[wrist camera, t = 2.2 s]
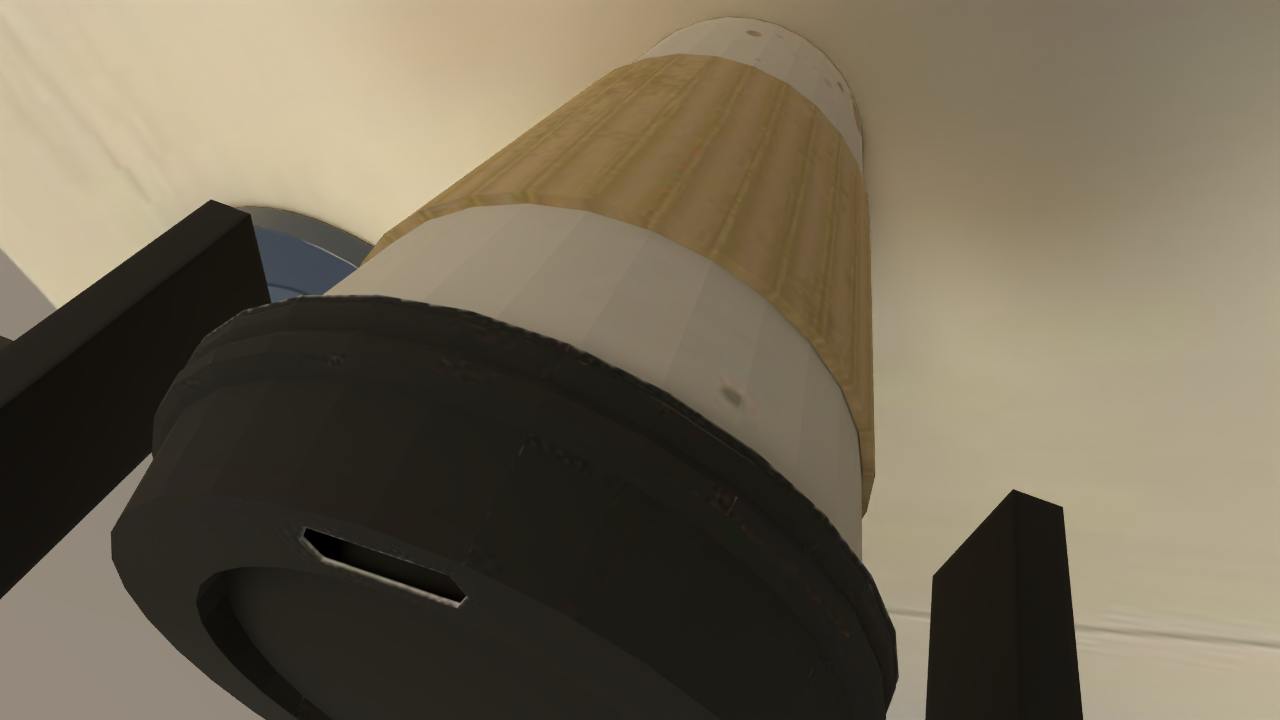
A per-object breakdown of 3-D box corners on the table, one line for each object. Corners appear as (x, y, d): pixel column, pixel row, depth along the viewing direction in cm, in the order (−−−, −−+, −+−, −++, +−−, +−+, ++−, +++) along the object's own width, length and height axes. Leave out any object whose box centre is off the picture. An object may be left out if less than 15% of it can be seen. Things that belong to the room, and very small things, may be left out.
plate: (127, 149, 27) (97, 167, 26) (519, 292, 25) (502, 316, 24) (222, 416, 38) (203, 435, 37) (501, 528, 36) (489, 550, 35)
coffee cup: (561, 259, 24) (230, 742, 13) (546, -101, 17) (-159, 314, 6) (883, 335, 22) (787, 971, 11) (1013, -40, 15) (1069, 699, 5)
